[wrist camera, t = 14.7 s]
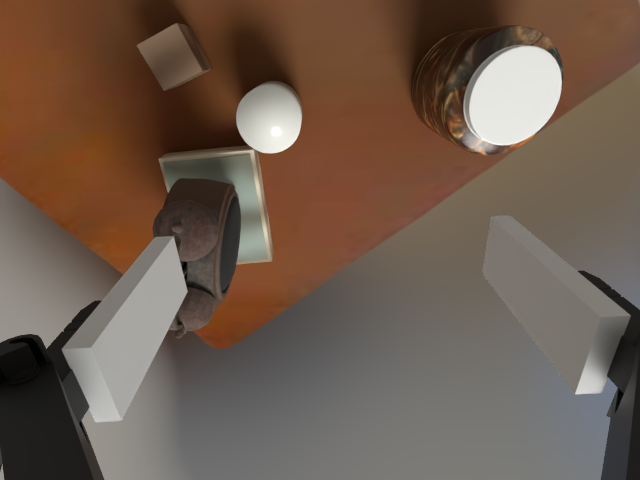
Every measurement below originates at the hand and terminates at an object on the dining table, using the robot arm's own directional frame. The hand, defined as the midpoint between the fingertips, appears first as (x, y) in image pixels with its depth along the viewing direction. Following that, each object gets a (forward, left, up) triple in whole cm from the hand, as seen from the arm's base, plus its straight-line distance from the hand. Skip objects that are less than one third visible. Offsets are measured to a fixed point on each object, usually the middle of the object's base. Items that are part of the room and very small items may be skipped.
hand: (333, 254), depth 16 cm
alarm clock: (+11, -14, -34) cm, 38 cm away
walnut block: (-8, -15, -37) cm, 41 cm away
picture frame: (+11, -14, -37) cm, 41 cm away
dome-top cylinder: (-1, -5, -37) cm, 37 cm away
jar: (-2, +18, -37) cm, 41 cm away
